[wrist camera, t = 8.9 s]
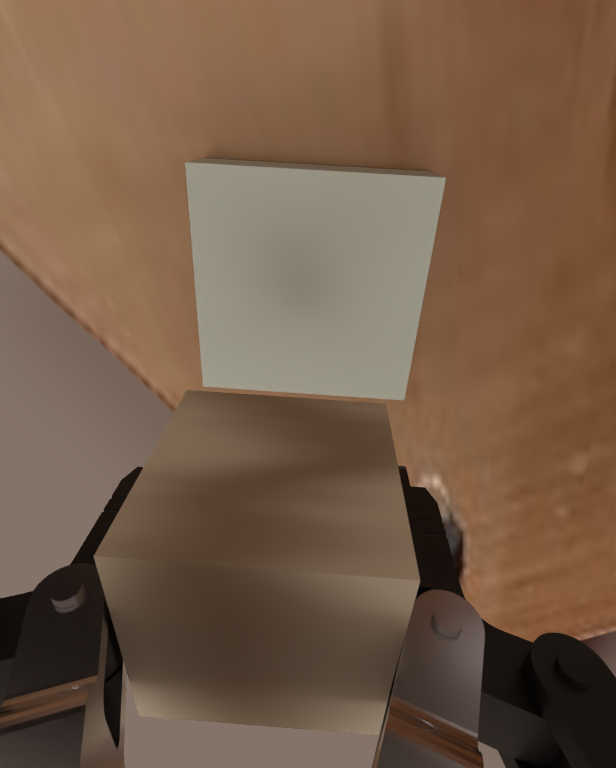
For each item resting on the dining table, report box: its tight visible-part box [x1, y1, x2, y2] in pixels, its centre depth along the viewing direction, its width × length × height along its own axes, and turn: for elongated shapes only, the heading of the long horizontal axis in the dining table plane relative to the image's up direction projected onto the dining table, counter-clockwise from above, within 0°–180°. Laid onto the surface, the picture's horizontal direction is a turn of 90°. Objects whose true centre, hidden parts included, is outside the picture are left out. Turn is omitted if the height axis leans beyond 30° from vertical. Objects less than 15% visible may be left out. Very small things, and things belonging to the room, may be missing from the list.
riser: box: [185, 158, 446, 400], centre depth 27 cm, size 13×13×4 cm
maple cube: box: [94, 390, 420, 735], centre depth 10 cm, size 5×5×5 cm
